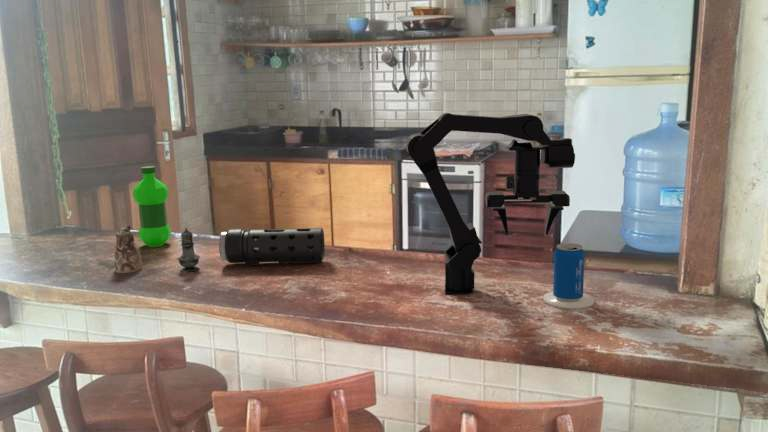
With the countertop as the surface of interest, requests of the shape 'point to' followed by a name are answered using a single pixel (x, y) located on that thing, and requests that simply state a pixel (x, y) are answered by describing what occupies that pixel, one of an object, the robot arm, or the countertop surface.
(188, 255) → the salt shaker
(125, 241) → the figurine
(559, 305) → the white round disc
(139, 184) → the plastic bottle
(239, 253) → the muzzle brake
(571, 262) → the beverage can
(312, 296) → the countertop surface
